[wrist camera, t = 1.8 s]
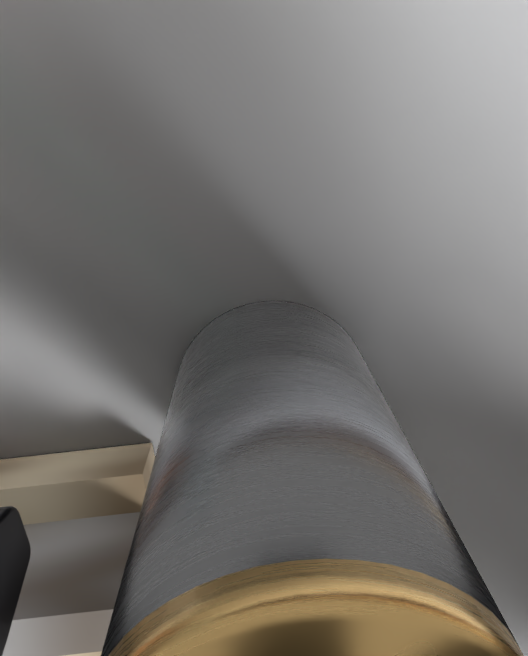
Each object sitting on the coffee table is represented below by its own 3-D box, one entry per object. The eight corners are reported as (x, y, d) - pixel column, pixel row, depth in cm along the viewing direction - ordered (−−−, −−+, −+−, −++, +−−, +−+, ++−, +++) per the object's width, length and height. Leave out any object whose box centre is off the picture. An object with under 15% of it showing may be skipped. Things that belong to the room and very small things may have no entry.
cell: (362, 290, 11) (635, 641, 3) (369, 459, 13) (564, 962, 5) (161, 312, 11) (-25, 715, 3) (193, 479, 13) (114, 1013, 5)
